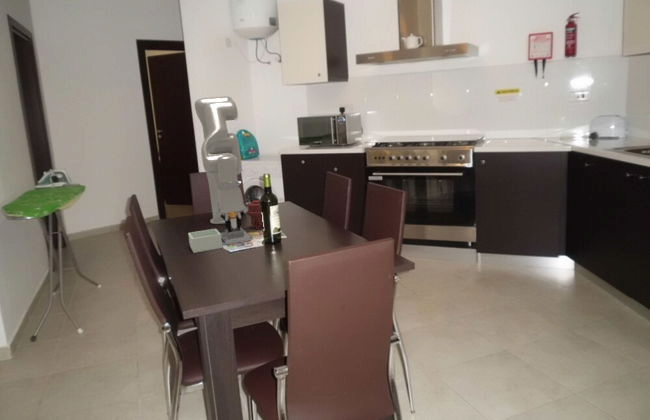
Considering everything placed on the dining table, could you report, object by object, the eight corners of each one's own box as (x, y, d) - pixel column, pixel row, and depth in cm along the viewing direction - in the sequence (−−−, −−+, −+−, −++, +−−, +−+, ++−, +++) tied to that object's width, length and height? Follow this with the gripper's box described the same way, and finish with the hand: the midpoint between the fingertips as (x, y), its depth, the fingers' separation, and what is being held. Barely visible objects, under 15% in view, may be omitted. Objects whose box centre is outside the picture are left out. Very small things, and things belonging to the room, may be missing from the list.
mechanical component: (273, 224, 233) (266, 230, 223) (252, 225, 235) (245, 230, 225) (270, 198, 230) (263, 203, 221) (250, 199, 232) (242, 203, 223)
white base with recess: (220, 237, 217) (219, 228, 216) (243, 233, 221) (242, 224, 220) (226, 244, 204) (225, 235, 203) (250, 240, 208) (249, 231, 207)
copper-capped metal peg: (227, 234, 213) (225, 211, 211) (239, 232, 215) (236, 209, 213) (230, 236, 209) (227, 213, 207) (241, 234, 211) (238, 211, 209)
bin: (190, 246, 207) (188, 232, 205) (217, 241, 211) (216, 228, 209) (193, 252, 196) (191, 239, 195) (222, 247, 200) (220, 234, 199)
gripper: (246, 182, 214) (251, 223, 218) (207, 187, 208) (212, 229, 212) (250, 184, 207) (255, 227, 211) (210, 189, 201) (215, 233, 205)
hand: (233, 228), depth 211 cm, fingers closed on copper-capped metal peg, 3 cm apart
